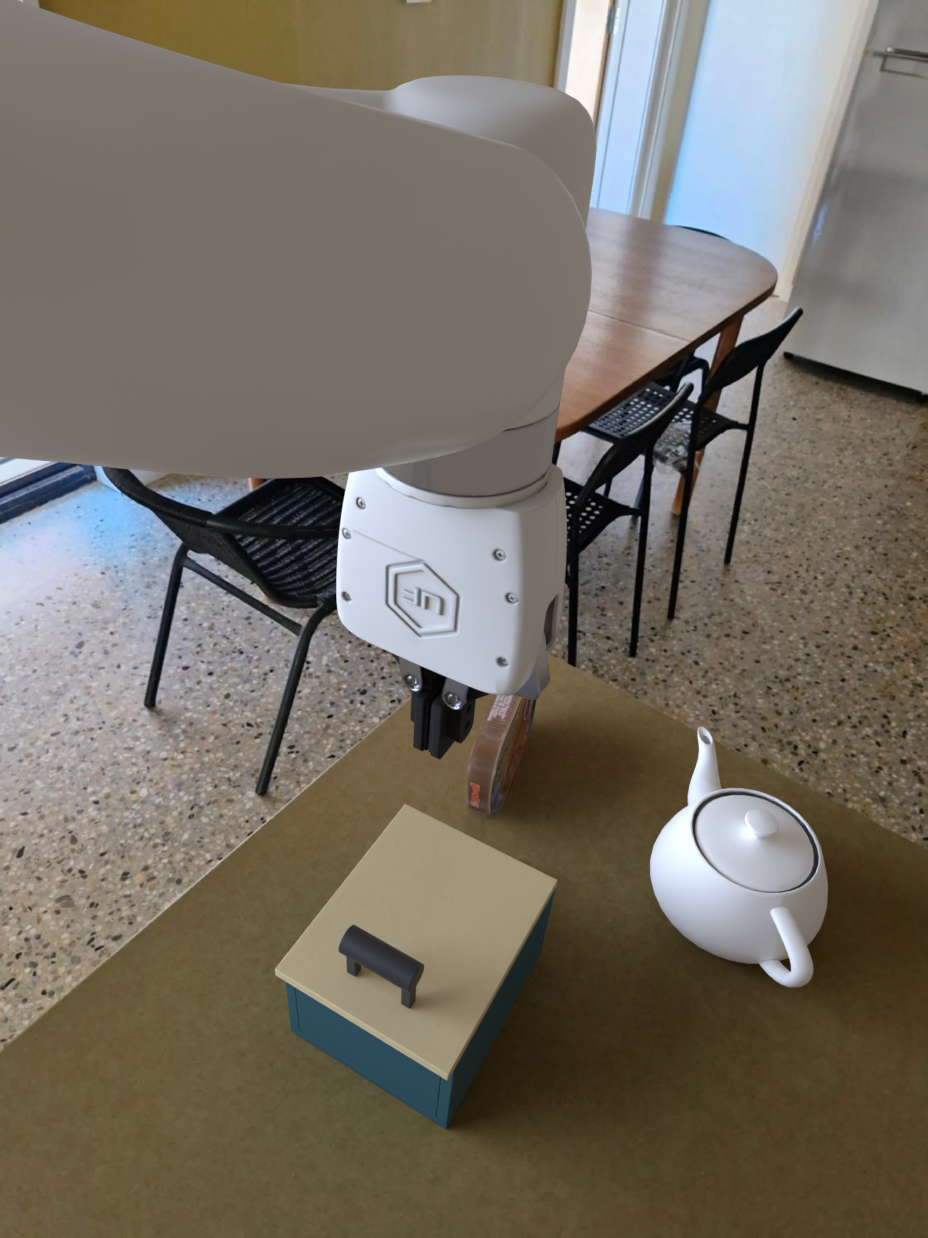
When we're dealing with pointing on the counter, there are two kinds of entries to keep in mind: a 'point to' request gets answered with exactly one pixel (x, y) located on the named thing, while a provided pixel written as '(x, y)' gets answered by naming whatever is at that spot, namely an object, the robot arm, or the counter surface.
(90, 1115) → the counter surface
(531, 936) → the teal open box
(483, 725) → the tin
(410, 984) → the lid
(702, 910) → the teapot
